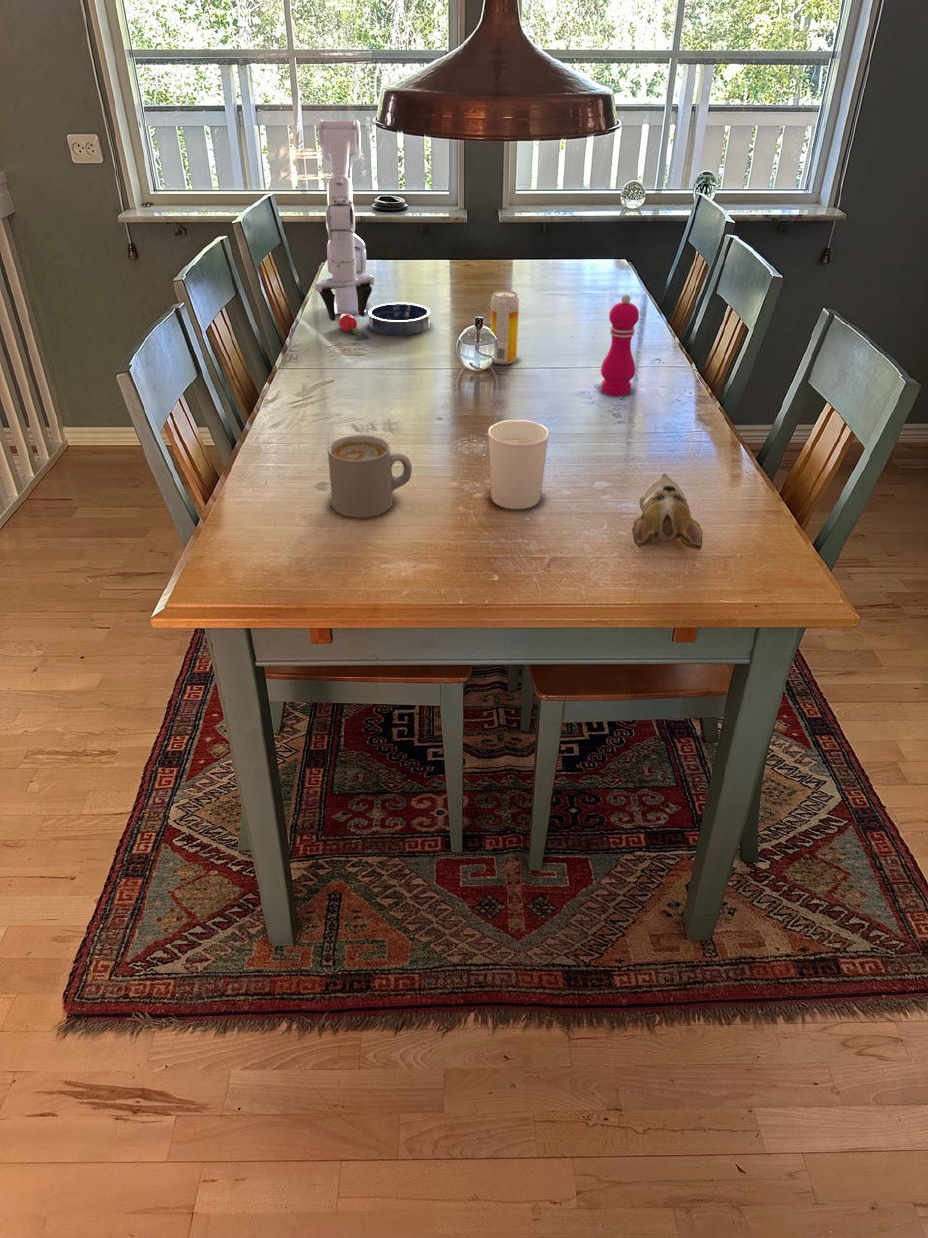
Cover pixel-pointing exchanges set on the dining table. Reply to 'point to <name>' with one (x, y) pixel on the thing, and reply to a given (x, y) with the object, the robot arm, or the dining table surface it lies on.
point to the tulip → (348, 324)
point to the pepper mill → (620, 349)
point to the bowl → (399, 319)
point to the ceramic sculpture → (666, 516)
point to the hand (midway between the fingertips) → (347, 317)
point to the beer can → (505, 324)
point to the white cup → (517, 462)
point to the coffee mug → (364, 475)
